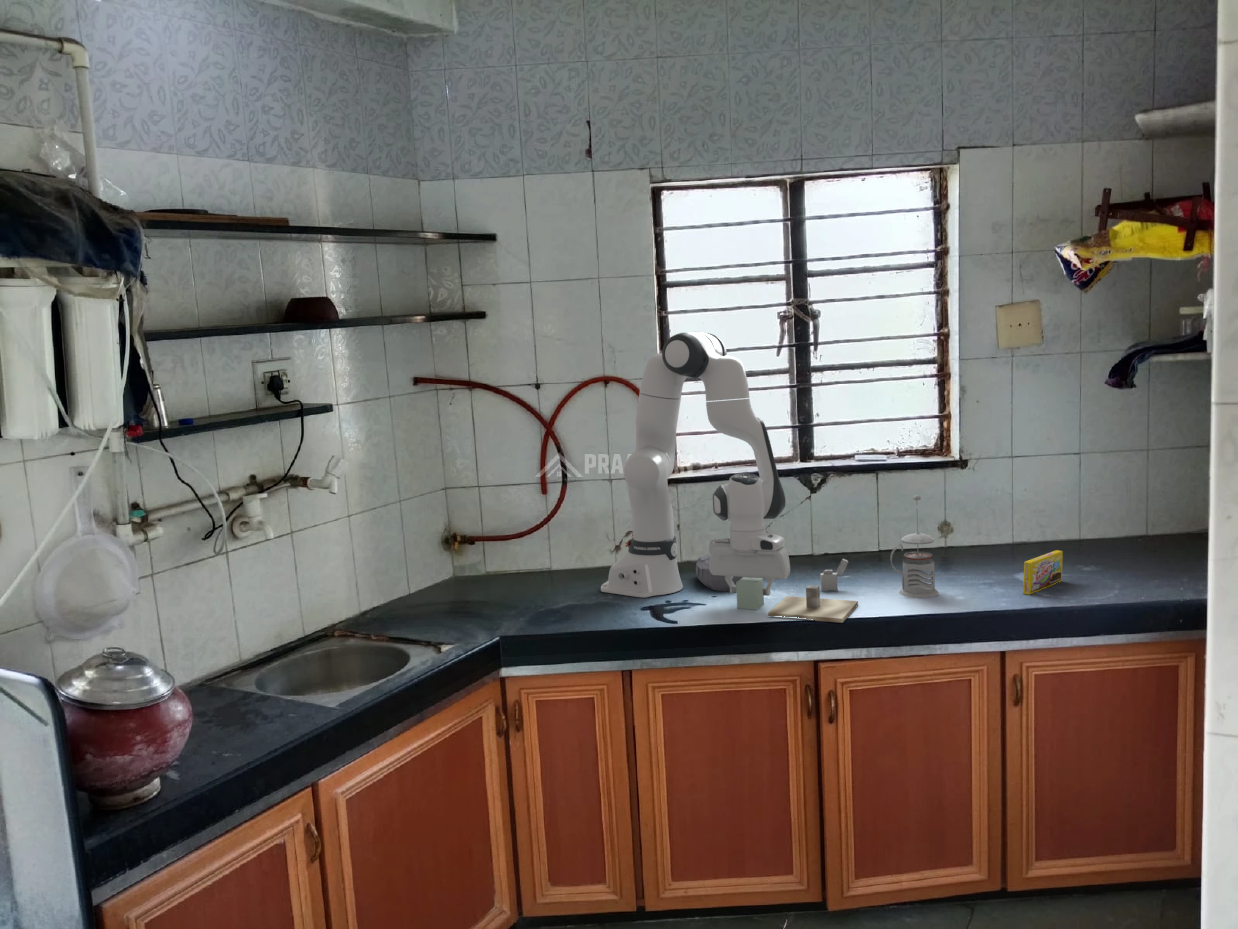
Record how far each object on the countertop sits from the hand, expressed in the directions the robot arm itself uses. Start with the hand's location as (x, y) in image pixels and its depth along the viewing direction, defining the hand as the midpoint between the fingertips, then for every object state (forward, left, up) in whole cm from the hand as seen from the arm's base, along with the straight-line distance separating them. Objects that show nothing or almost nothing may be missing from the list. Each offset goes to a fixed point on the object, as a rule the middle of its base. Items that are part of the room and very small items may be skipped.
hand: (750, 594), depth 247 cm
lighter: (+16, +20, -3) cm, 26 cm away
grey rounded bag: (-15, +20, -4) cm, 26 cm away
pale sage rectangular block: (0, 0, -3) cm, 3 cm away
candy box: (+65, +34, -4) cm, 73 cm away
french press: (+36, +22, -3) cm, 42 cm away
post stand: (+16, 0, -3) cm, 16 cm away
